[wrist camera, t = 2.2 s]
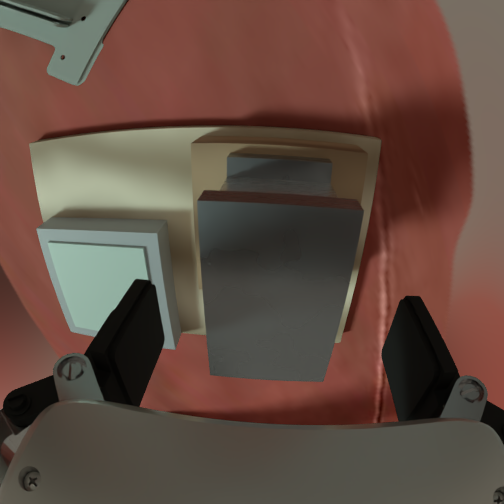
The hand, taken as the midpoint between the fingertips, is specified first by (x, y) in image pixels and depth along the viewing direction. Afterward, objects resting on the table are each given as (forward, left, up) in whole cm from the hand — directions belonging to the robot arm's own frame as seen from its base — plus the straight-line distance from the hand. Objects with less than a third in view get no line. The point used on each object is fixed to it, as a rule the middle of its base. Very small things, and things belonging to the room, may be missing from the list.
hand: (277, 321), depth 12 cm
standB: (+5, -12, -9) cm, 16 cm away
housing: (-1, 0, -7) cm, 7 cm away
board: (+2, -6, -10) cm, 12 cm away
